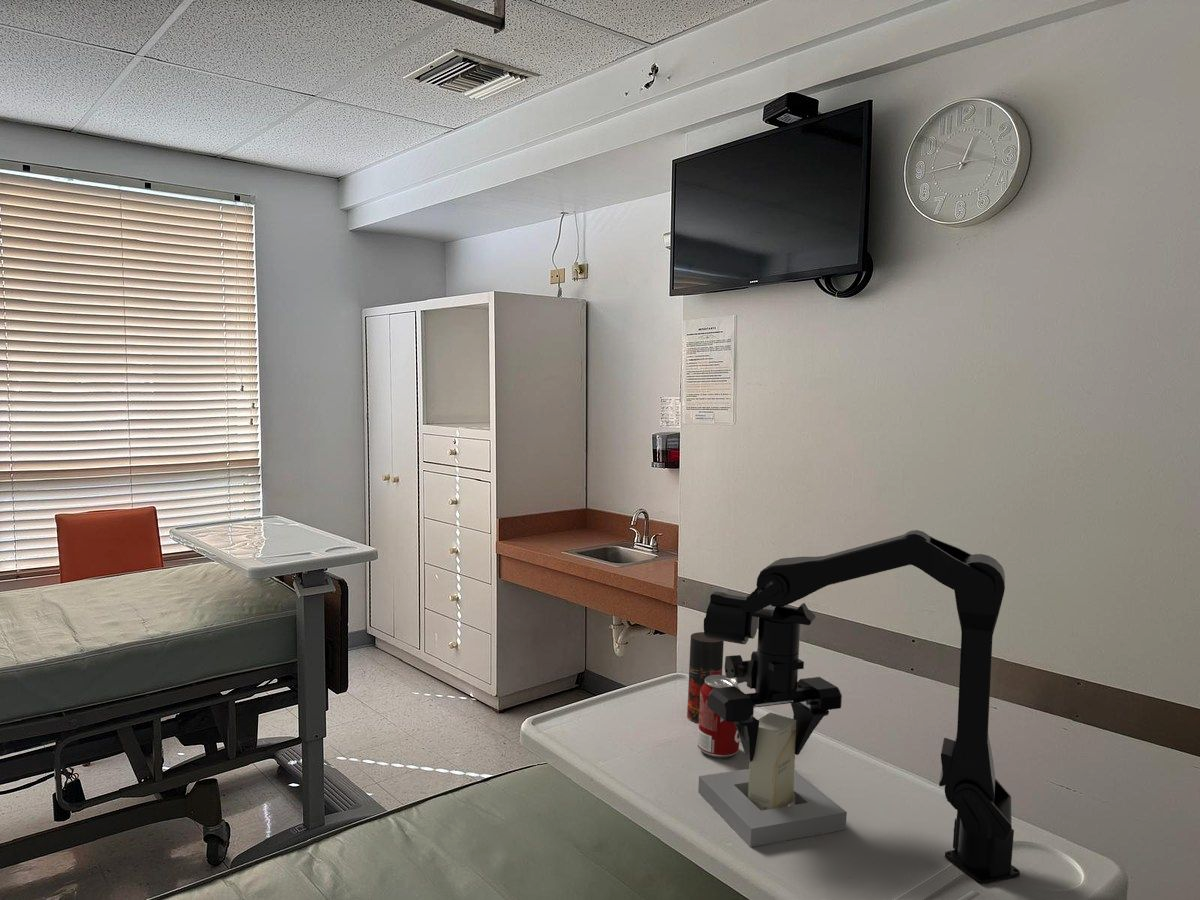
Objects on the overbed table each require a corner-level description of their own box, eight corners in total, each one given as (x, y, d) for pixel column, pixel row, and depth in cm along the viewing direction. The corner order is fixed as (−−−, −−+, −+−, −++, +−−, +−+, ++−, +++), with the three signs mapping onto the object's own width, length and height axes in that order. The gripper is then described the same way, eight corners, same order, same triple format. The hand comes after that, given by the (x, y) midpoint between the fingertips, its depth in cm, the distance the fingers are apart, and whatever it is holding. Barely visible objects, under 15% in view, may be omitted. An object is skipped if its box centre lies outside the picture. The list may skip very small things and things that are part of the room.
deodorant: (683, 711, 152) (687, 632, 151) (715, 711, 152) (719, 632, 151) (690, 724, 146) (694, 642, 145) (723, 724, 147) (727, 642, 145)
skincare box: (774, 818, 113) (778, 733, 112) (745, 807, 116) (749, 724, 115) (794, 801, 118) (798, 719, 117) (766, 791, 121) (769, 711, 120)
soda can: (707, 762, 131) (710, 689, 131) (691, 744, 138) (694, 674, 137) (745, 758, 133) (749, 686, 132) (728, 740, 140) (731, 672, 139)
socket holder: (845, 829, 113) (846, 812, 113) (750, 847, 108) (751, 828, 107) (785, 778, 127) (786, 763, 127) (698, 792, 122) (699, 776, 121)
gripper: (801, 628, 126) (796, 726, 127) (692, 637, 120) (688, 741, 121) (847, 651, 116) (841, 758, 117) (730, 662, 109) (725, 775, 110)
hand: (772, 756), depth 117 cm, fingers closed on skincare box, 7 cm apart
